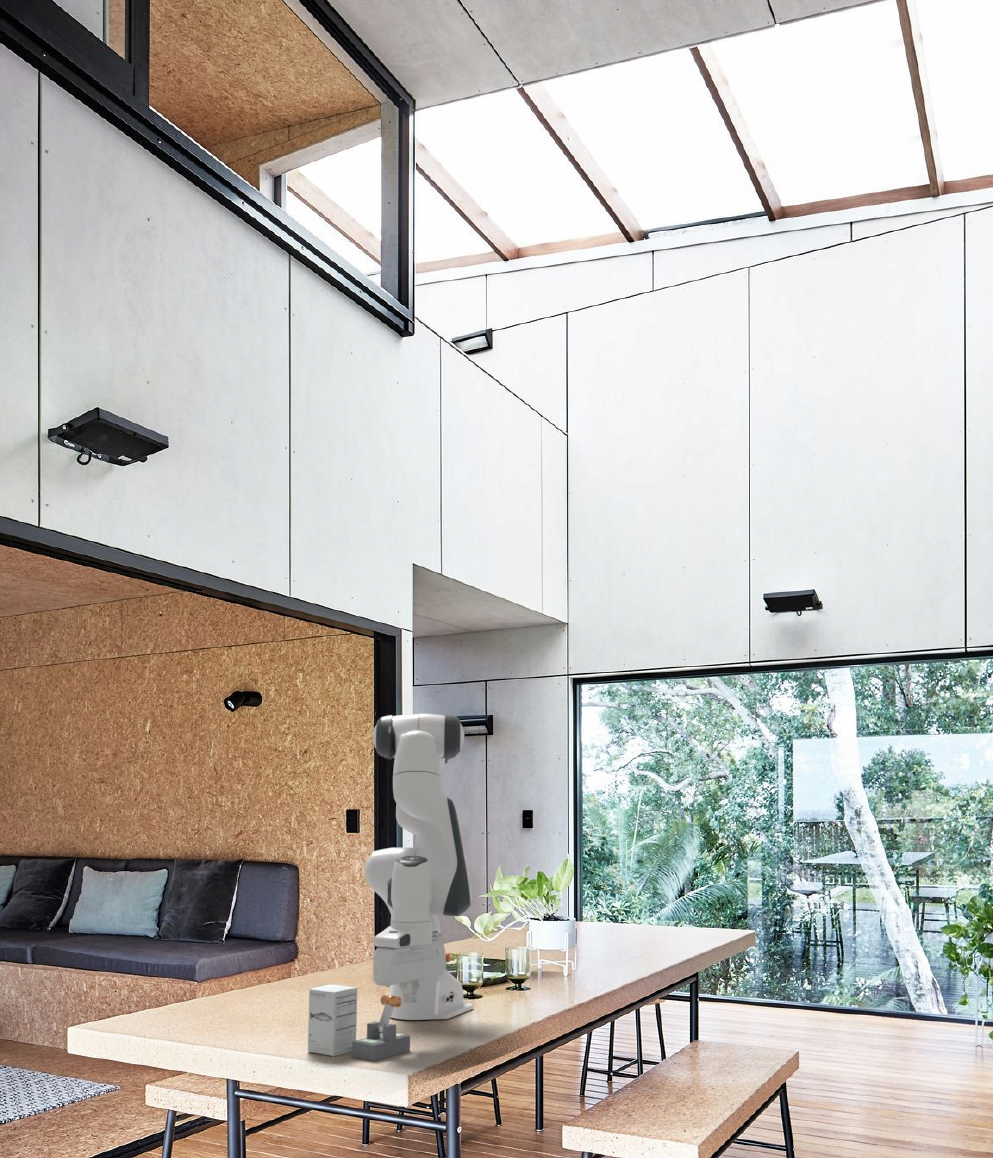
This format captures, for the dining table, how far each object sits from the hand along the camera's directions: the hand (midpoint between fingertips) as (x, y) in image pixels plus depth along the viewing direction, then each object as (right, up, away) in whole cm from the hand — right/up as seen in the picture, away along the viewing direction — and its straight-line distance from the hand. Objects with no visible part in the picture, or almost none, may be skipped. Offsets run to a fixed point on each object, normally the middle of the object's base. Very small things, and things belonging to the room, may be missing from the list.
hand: (410, 1002), depth 242 cm
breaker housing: (-5, -7, -9) cm, 13 cm away
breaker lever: (-5, -3, -8) cm, 10 cm away
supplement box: (-16, -8, -6) cm, 19 cm away
